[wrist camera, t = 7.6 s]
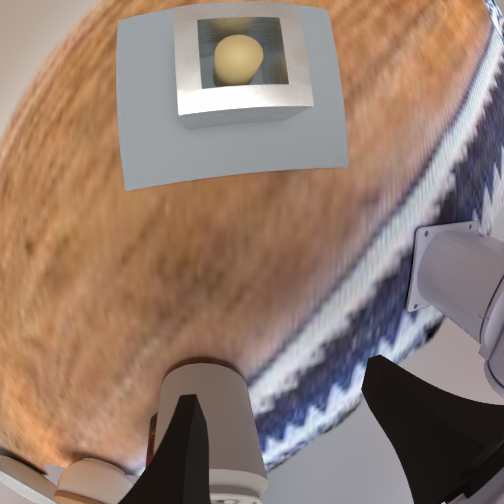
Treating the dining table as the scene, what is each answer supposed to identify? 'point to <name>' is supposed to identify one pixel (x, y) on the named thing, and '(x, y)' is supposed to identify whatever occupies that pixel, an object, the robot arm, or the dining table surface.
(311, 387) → the dining table surface
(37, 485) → the serving bowl
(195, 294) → the dining table surface
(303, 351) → the dining table surface
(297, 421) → the dining table surface
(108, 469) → the lidded bowl
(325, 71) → the post block
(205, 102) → the collar
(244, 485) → the can
